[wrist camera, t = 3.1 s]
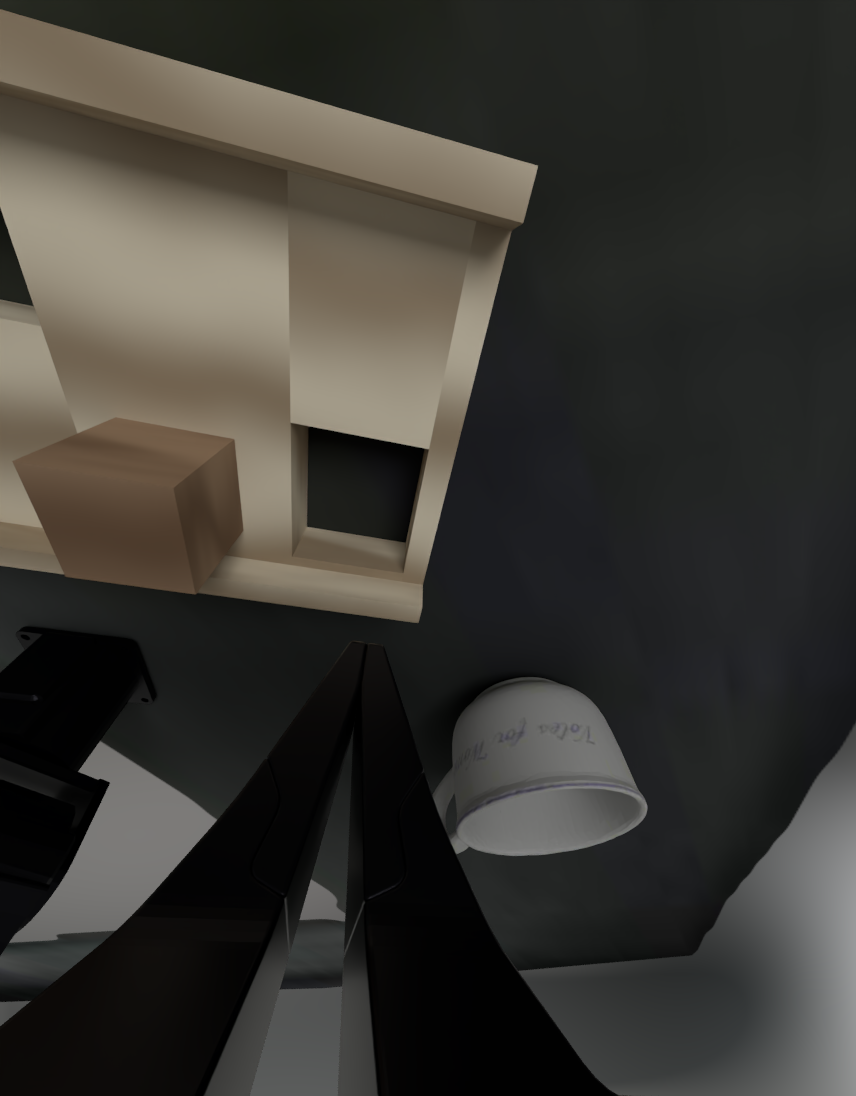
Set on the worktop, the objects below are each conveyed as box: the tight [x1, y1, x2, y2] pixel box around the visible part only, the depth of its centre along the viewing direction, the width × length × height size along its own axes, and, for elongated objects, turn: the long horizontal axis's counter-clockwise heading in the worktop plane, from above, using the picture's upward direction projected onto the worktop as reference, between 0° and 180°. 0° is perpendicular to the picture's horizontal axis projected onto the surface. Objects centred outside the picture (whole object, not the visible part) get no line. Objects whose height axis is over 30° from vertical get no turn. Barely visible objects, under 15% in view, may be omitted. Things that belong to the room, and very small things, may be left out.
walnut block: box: [12, 417, 244, 594], centre depth 13 cm, size 4×4×4 cm
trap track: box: [0, 10, 538, 623], centre depth 13 cm, size 15×26×4 cm, turn 79°
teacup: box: [433, 677, 647, 856], centre depth 25 cm, size 14×11×8 cm
